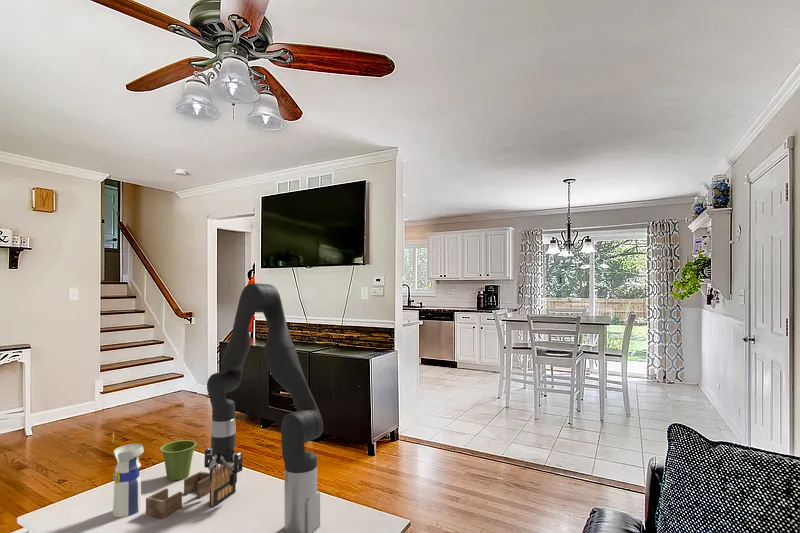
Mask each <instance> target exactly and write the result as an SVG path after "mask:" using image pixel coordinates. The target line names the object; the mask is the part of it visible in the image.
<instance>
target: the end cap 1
mask: <svg viewBox="0 0 800 533" xmlns="http://www.w3.org/2000/svg"><path fill="white" fill-rule="evenodd" d="M182 505H183V492H182V491H178V492H176V493H175V494H172V495H170V496H169V488H164V489H162V490H160V491H158V492H156V493H154V494H152V495H150V496H148V497H146V498H145V515H146V516H148V517H152V518H156V519H159V520H164V519H166V518H167V517H169V516H171V515H173V514H174V513H176V512H177V511H180V510H181V509H183V506H182Z"/></svg>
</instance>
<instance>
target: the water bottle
mask: <svg viewBox="0 0 800 533" xmlns="http://www.w3.org/2000/svg"><path fill="white" fill-rule="evenodd" d="M114 440H115V431H113V433H112V441H111V442H112V443H115V442H114ZM112 452H113V455H114V461H115V459H116V462H117V464H116V466H115V468H114V472H113V474H112V480H113V482H114V486H113V506H112V516H113V517H115V518H125V517H130V516H133V515H135V514H137V513H139V512H141V510H142V508H143V507H142V506H143V505H142V479H141V476H140V468H141V466H142V464H141V462H140V459H139V458H140V455H142V454H143V453H144V452H145V450H144V446H143V444H141V443H128V444H125V445H122V446H119V447H116V448H115V449H114V450H113V451H112Z"/></svg>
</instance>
